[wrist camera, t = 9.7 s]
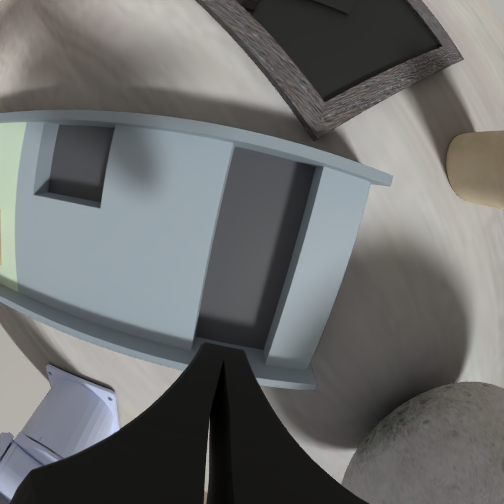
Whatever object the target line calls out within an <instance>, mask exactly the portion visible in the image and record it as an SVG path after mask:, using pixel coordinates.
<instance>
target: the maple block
mask: <svg viewBox="0 0 504 504" xmlns="http://www.w3.org/2000/svg"><path fill="white" fill-rule="evenodd" d="M0 224H1V210H0ZM1 265H2V256H1V227H0V266H1Z"/></svg>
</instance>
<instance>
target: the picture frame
mask: <svg viewBox="0 0 504 504" xmlns="http://www.w3.org/2000/svg"><path fill="white" fill-rule="evenodd" d="M196 1H197V2H198V3H199V4H200V5H201V6H202V7H203V8H204V9H205V10H206V11H207V12H208V13H209V14H210V15H211V16H212V17H213V18H214V19H215V20H216V21H217V22H218V23H219V24H220V25H221V26H222V27H223V28H224V29H225V30H226V31H227V32H228V33H229V34H230V35H231V36H232V37H233V38H234V40H235V41H236V42H237V43H238V44H239V45H240V46H241V47H242V48H243V50H244V51H245V52H246V53H247V54H248V55H249V56H250V58H251V59H252V60H253V61H254V62H255V64H256V65H257V66H258V67H259V68H260V69H261V71H262V72H263V73H264V74H265V76H266V77H267V78H268V79H269V81H270V82H271V83H272V84H273V86H274V87H275V88H276V89H277V91H278V92H279V93H280V95H281V96H282V97H283V99H284V100H285V101H286V103H287V104H288V105H289V107H290V108H291V109H292V111H293V112H294V113H295V115H296V116H297V118H298V119H299V120H300V122H301V123H302V125H303V126H304V127H305V129H306V130H307V132H308V133H309V135H310V136H311V138H312V139H313V141H314V140H316V139H318V138H320V137H321V136H323V135H325V134H326V133H328V132H330V131H331V130H333V129H335V128H336V127H338V126H340V125H341V124H343V123H345V122H346V121H348V120H350V119H351V118H353V117H355V116H356V115H358V114H360V113H362V112H363V111H365V110H367V109H369V108H370V107H372V106H374V105H376V104H377V103H379V102H381V101H383V100H385V99H386V98H388V97H390V96H392V95H394V94H396V93H397V92H399V91H401V90H403V89H405V88H407V87H409V86H411V85H413V84H414V83H416V82H418V81H420V80H422V79H424V78H426V77H428V76H430V75H432V74H434V73H436V72H438V71H440V70H442V69H444V68H446V67H449V66H451V65H453V64H455V63H457V62H459V61H461V60H464V58H463V57H462V55H461V54H460V52H459V50H458V49H457V47H456V46H455V44H454V43H453V41H452V40H451V38H450V37H449V35H448V34H447V32H446V31H445V30H444V28H443V27H442V26H441V24H440V23H439V21H438V20H437V19H436V18H435V16H434V15H433V14H432V12H431V11H430V10H429V9H428V8H427V6H426V5H425V4H424V3H423V2H422V0H196Z"/></svg>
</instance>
